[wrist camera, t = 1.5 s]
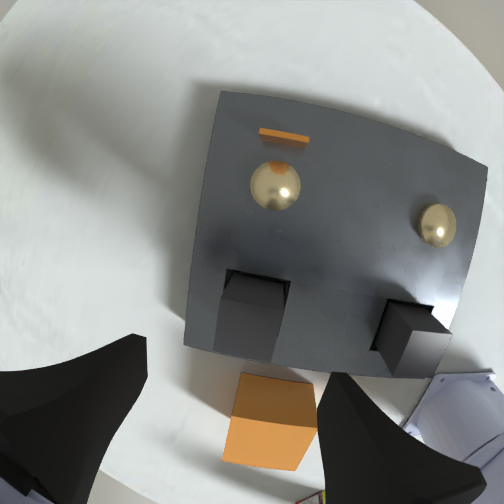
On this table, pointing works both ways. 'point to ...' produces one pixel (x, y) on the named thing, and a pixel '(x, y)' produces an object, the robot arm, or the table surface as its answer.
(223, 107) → the grey flat slab
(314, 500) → the snack box
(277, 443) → the cap
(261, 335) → the dark grey block
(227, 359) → the table surface
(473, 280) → the table surface
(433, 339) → the block
